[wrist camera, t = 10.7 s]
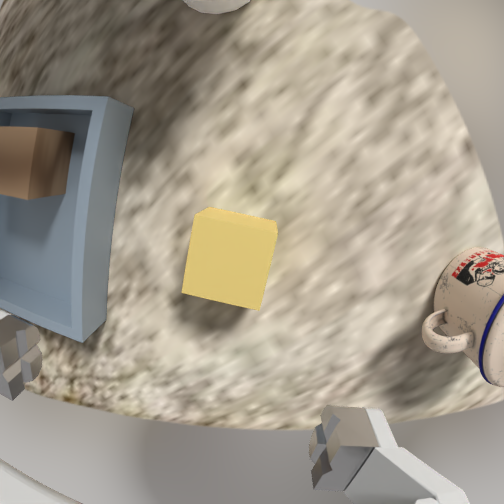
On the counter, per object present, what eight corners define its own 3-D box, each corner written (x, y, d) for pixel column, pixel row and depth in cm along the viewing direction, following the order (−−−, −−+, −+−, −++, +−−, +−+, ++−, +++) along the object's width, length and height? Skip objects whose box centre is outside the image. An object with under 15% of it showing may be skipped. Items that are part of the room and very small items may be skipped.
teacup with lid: (505, 236, 23) (594, 270, 12) (499, 323, 25) (568, 380, 14) (398, 259, 24) (478, 319, 13) (399, 356, 26) (454, 442, 15)
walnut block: (32, 130, 22) (-5, 126, 17) (75, 133, 22) (37, 127, 17) (24, 186, 23) (-14, 191, 18) (65, 193, 23) (27, 199, 18)
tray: (14, 104, 22) (-17, 99, 18) (134, 108, 22) (108, 96, 18) (0, 280, 26) (-28, 293, 22) (106, 319, 26) (82, 342, 22)
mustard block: (209, 206, 24) (194, 214, 19) (275, 221, 24) (278, 233, 19) (197, 270, 25) (181, 292, 20) (261, 284, 25) (259, 310, 20)
